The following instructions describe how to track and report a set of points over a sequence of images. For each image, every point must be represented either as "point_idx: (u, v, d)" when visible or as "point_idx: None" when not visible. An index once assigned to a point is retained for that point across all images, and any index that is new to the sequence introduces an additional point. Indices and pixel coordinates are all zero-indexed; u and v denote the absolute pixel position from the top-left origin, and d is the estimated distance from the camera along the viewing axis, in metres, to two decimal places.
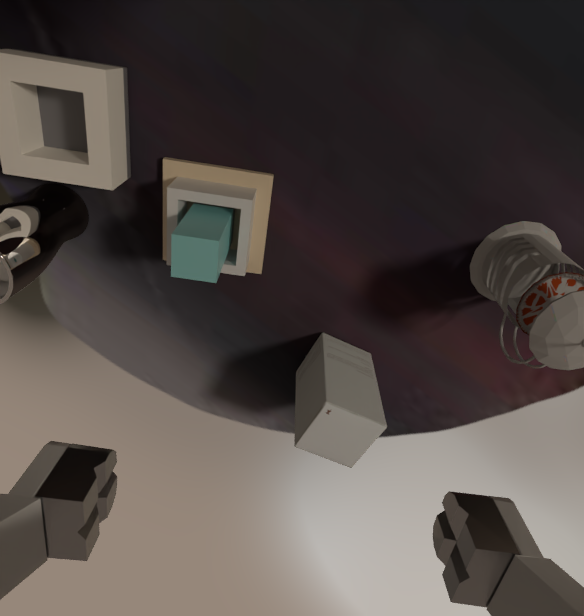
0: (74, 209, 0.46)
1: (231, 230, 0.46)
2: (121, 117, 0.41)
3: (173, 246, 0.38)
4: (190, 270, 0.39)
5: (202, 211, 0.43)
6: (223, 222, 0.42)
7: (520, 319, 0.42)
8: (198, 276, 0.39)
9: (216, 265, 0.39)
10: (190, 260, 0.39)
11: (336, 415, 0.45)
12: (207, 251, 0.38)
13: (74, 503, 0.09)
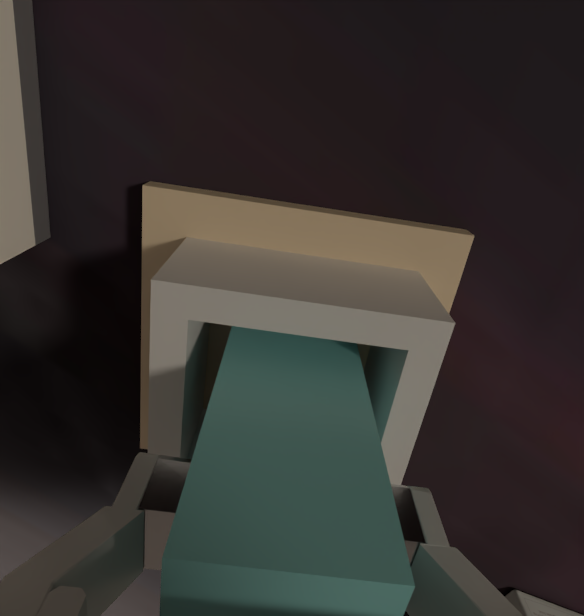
0: None
1: None
2: None
3: (171, 602, 0.07)
4: None
5: (270, 352, 0.13)
6: (356, 406, 0.11)
7: None
8: None
9: None
10: None
11: None
12: None
13: None
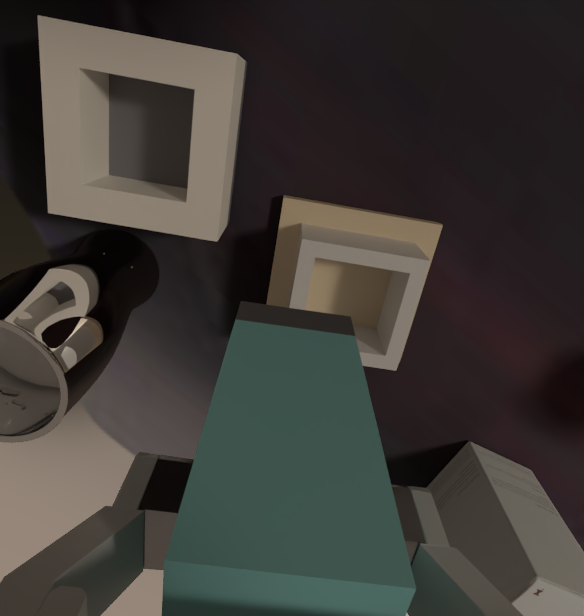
0: (144, 267, 0.31)
1: None
2: (235, 134, 0.27)
3: (173, 604, 0.07)
4: None
5: (271, 354, 0.13)
6: (357, 408, 0.11)
7: None
8: None
9: None
10: None
11: (549, 597, 0.28)
12: None
13: (175, 515, 0.09)
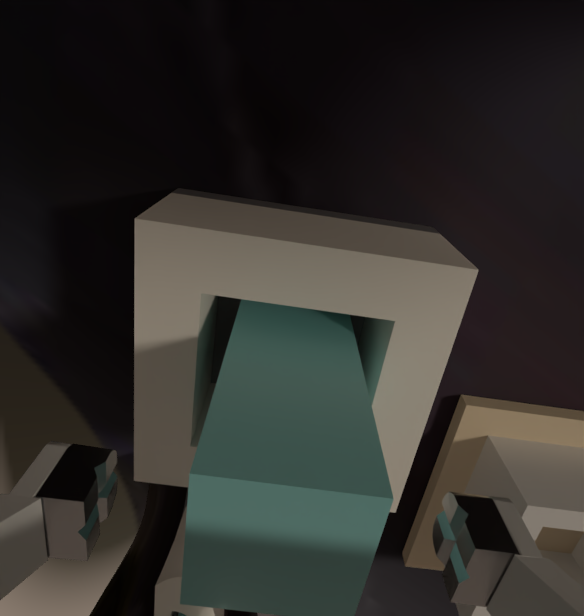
0: None
1: None
2: None
3: (195, 514, 0.09)
4: (257, 587, 0.10)
5: (274, 326, 0.15)
6: (349, 370, 0.13)
7: None
8: (285, 604, 0.10)
9: (364, 574, 0.10)
10: (261, 559, 0.10)
11: None
12: (334, 532, 0.09)
13: (74, 503, 0.09)
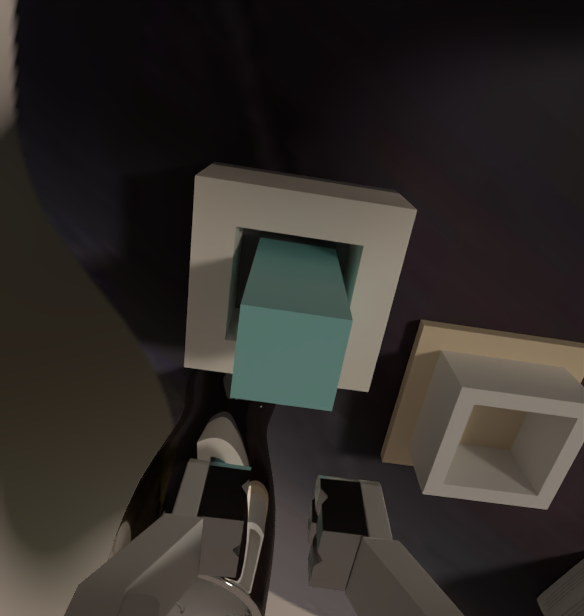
0: None
1: None
2: None
3: (242, 332, 0.16)
4: (276, 384, 0.17)
5: (283, 252, 0.22)
6: (332, 274, 0.20)
7: None
8: (292, 396, 0.17)
9: (338, 374, 0.17)
10: (279, 363, 0.17)
11: None
12: (320, 344, 0.16)
13: (233, 522, 0.09)
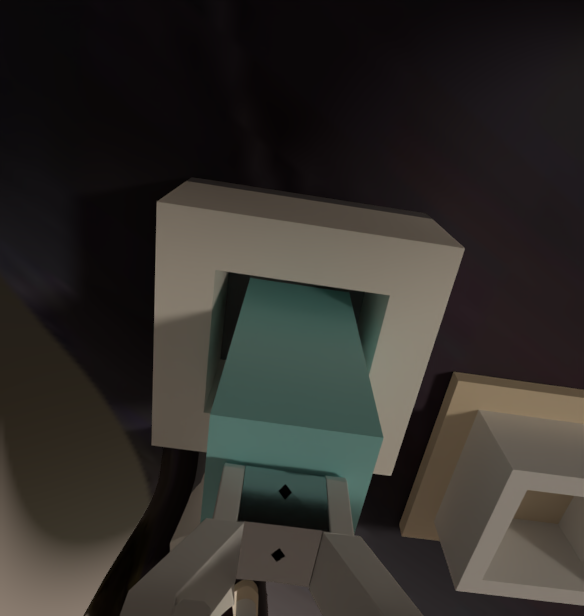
0: None
1: None
2: None
3: (214, 451, 0.11)
4: None
5: (280, 301, 0.16)
6: (348, 339, 0.14)
7: None
8: None
9: (358, 507, 0.11)
10: None
11: None
12: (332, 468, 0.11)
13: (272, 526, 0.09)
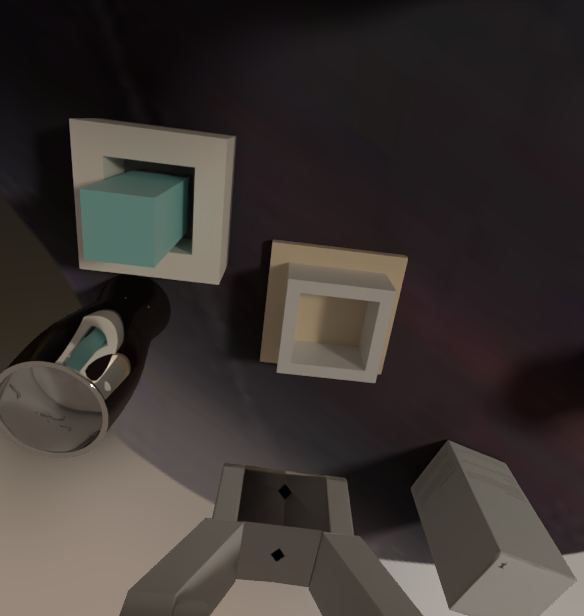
0: (158, 306, 0.37)
1: (186, 208, 0.33)
2: (229, 195, 0.33)
3: (84, 209, 0.25)
4: (113, 248, 0.25)
5: (142, 176, 0.30)
6: (168, 185, 0.28)
7: None
8: (125, 257, 0.26)
9: (152, 239, 0.25)
10: (112, 232, 0.25)
11: (512, 569, 0.34)
12: (136, 216, 0.25)
13: (272, 526, 0.09)
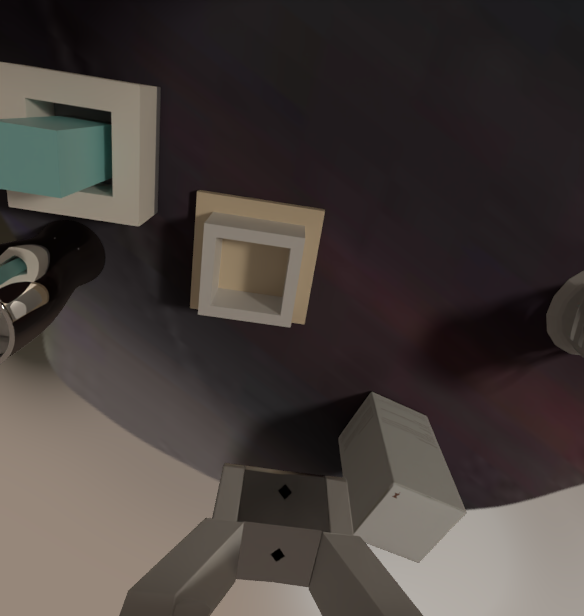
0: (90, 249, 0.39)
1: (110, 154, 0.35)
2: (152, 143, 0.35)
3: None
4: (22, 178, 0.28)
5: (64, 119, 0.32)
6: (83, 125, 0.31)
7: None
8: (34, 187, 0.28)
9: (57, 170, 0.27)
10: (20, 162, 0.27)
11: (405, 499, 0.36)
12: (41, 147, 0.27)
13: (272, 526, 0.09)
